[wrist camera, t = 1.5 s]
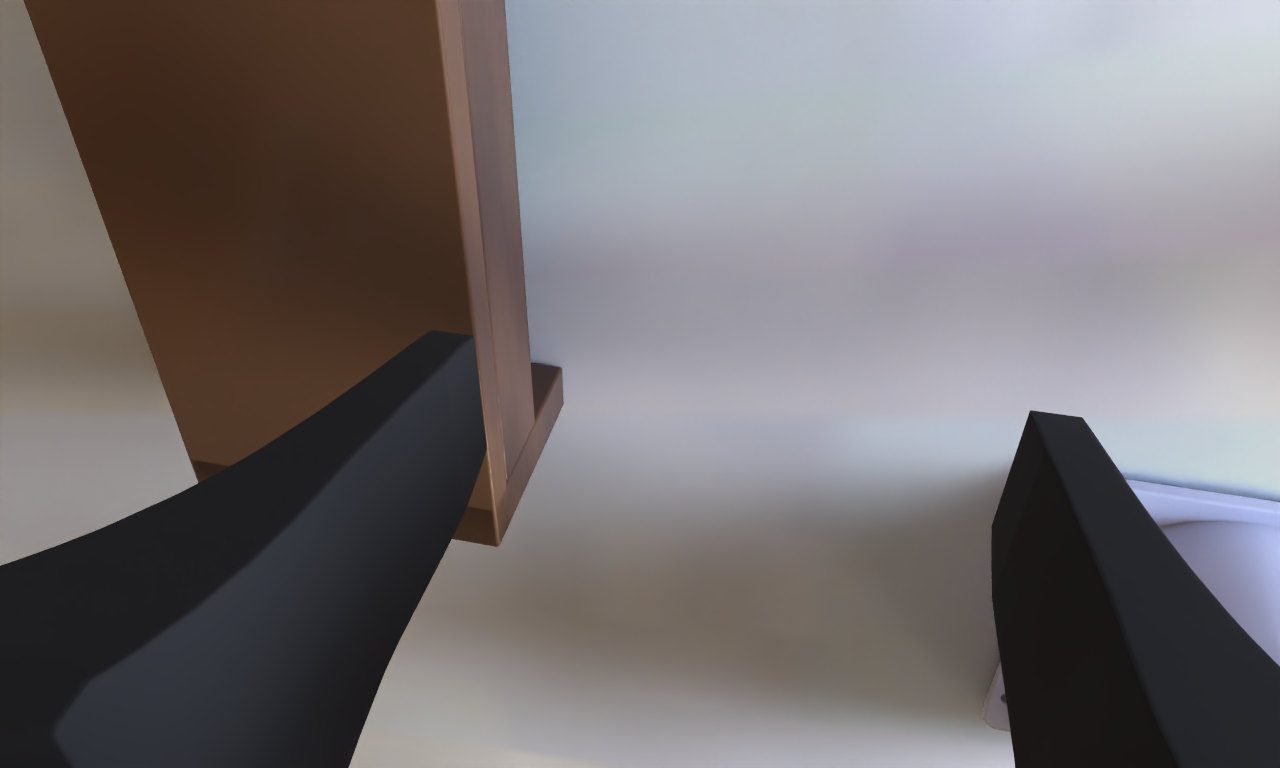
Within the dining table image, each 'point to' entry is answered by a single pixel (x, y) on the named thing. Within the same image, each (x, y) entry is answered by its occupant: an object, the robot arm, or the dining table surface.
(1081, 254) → the dining table surface
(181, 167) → the brown flanged block
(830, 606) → the dining table surface
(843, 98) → the dining table surface
